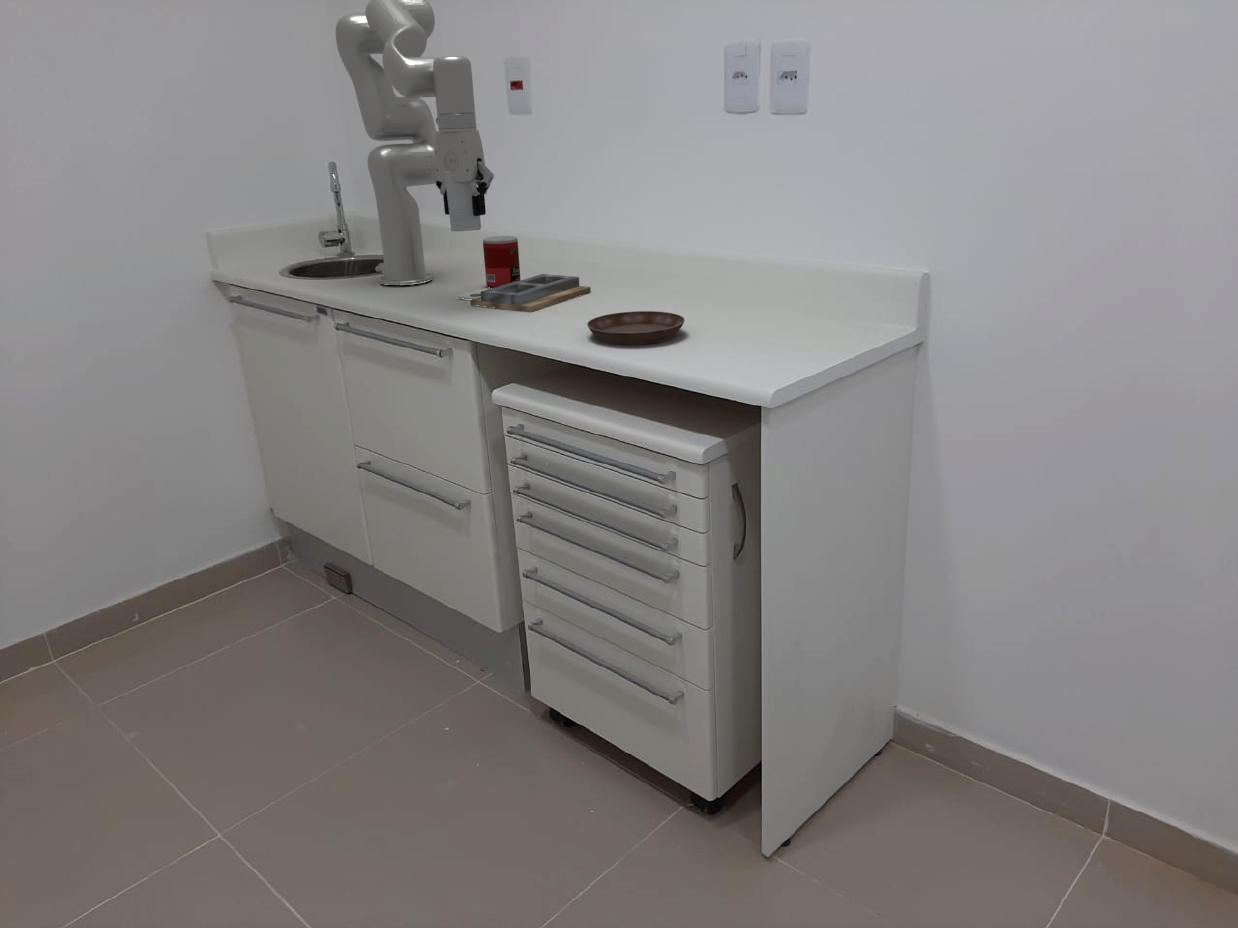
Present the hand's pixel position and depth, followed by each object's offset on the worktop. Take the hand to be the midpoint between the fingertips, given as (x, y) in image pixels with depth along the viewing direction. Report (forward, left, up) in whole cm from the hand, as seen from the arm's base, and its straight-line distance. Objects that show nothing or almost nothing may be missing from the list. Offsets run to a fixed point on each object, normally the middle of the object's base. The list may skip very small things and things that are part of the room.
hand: (465, 214), depth 199 cm
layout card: (-4, +8, -19) cm, 21 cm away
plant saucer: (+46, -9, -19) cm, 51 cm away
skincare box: (0, 0, -3) cm, 3 cm away
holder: (+8, +10, -19) cm, 23 cm away
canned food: (-7, +19, -19) cm, 28 cm away
